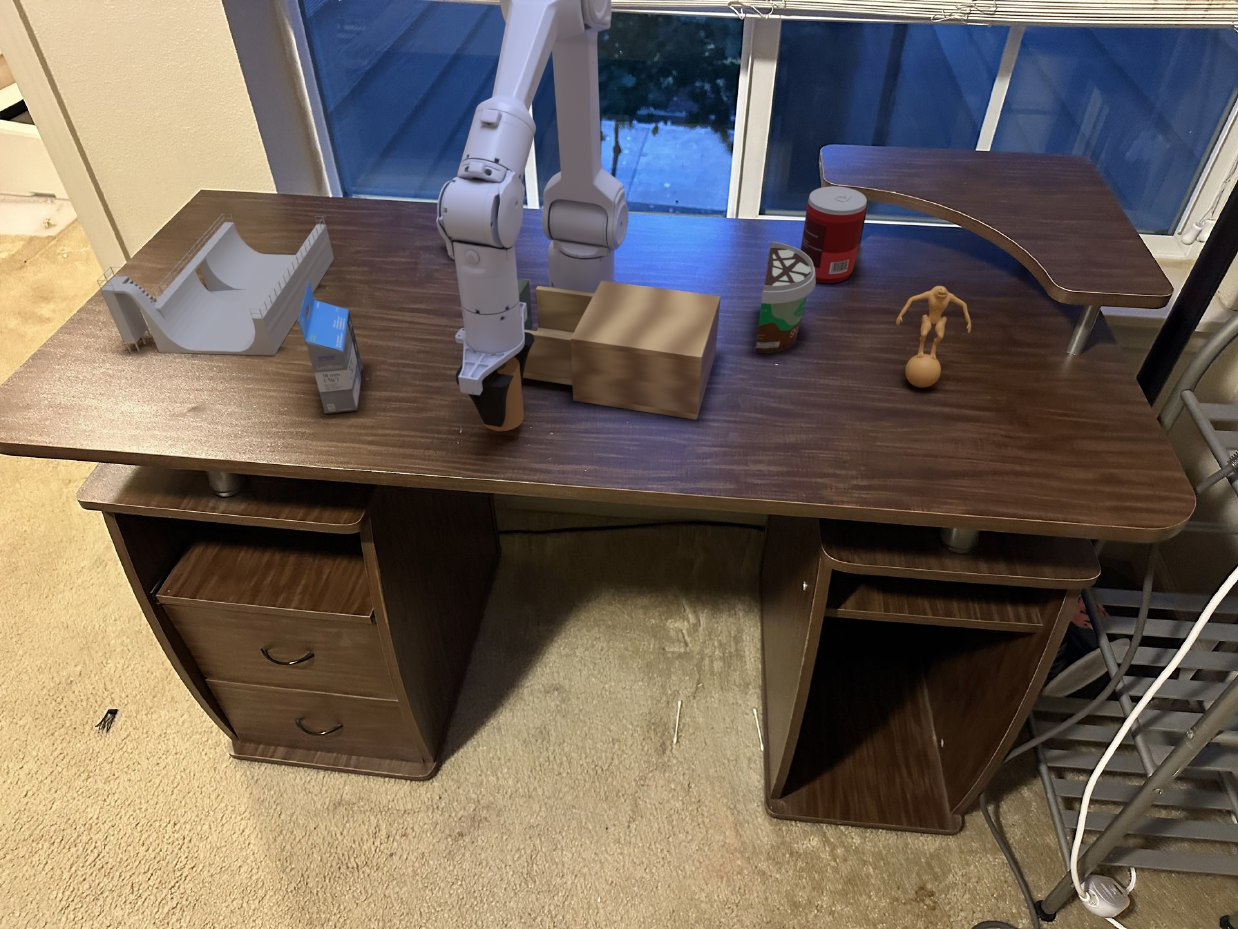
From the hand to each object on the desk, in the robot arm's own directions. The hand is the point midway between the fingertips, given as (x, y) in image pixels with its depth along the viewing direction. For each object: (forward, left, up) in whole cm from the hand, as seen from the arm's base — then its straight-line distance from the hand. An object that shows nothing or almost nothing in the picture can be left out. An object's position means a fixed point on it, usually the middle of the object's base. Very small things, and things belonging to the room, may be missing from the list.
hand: (502, 409), depth 93 cm
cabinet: (-1, +19, -3) cm, 19 cm away
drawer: (-10, +10, -2) cm, 14 cm away
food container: (0, +39, -3) cm, 39 cm away
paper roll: (0, 0, -1) cm, 1 cm away
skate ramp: (-44, -19, -3) cm, 48 cm away
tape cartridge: (-17, -13, -3) cm, 21 cm away
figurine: (+16, +47, -3) cm, 50 cm away
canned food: (-10, +55, -3) cm, 56 cm away
